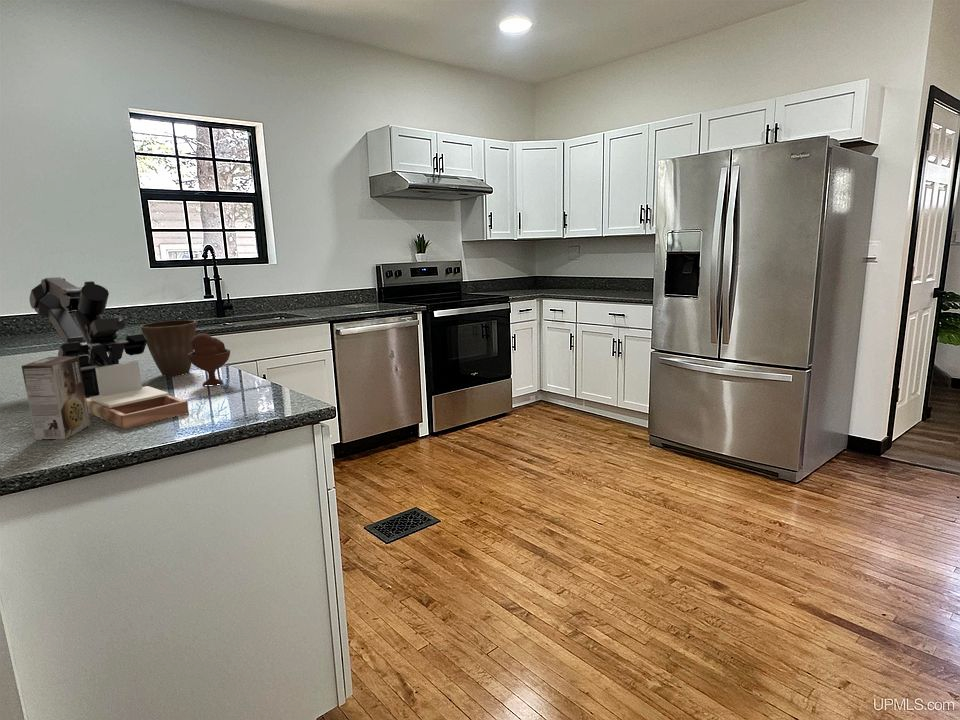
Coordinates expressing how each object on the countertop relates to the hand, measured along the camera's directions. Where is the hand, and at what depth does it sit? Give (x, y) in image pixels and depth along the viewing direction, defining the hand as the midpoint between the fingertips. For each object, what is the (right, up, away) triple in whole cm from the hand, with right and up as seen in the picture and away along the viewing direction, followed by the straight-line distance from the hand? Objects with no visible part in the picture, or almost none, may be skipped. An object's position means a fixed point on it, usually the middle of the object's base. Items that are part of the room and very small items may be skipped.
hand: (117, 374), depth 140 cm
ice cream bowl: (+13, -4, +23) cm, 26 cm away
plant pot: (-5, -1, +37) cm, 37 cm away
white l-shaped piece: (+5, -5, -3) cm, 8 cm away
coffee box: (0, -12, -18) cm, 22 cm away
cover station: (+7, -9, -3) cm, 12 cm away
